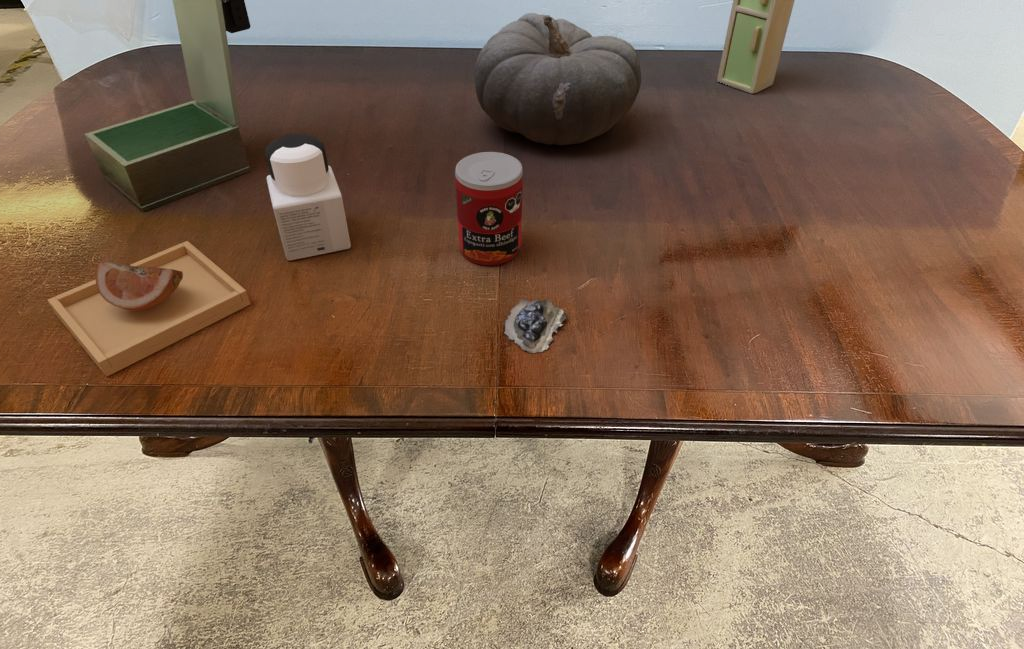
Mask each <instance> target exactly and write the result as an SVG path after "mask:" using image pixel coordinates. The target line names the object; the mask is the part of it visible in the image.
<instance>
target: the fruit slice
mask: <svg viewBox="0 0 1024 649" xmlns="http://www.w3.org/2000/svg"><path fill="white" fill-rule="evenodd" d="M130 265H131V263H127V264H124V263H121V262H119V263H117V262H116V263H115V262H110V261H98V263H97V265H96V272H95V279H96V285H97V289H98V291H99V293H100V295H101V296H102V297H103V298H104V299H105V300H106V301H107V302H108V303H110V304H112V305H114V306H116V307H119V308H122V309H126V310H144V309H148V308H152V307H154V306H156V305H158V304H160V303H162V302H163V301H165V300H166V299H167V298H168V297H169V296H170V295H171V294H172V293H173V292H174V291H175V290H176V289H177V288H178V286H179V283H180V282H181V280H182V278H183V272H182V271H177V270H174V269H166V268H155V267H146V268H145V267H137V266H130Z"/></svg>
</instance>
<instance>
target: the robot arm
mask: <svg viewBox="0 0 1024 649" xmlns="http://www.w3.org/2000/svg"><path fill="white" fill-rule="evenodd" d="M221 2H222V9H223V15H224V22H225V28H226V32H228V33H230V34H236V33H239V32H243V31H247V30H249V29H251V21H250V18H249V14H248V10H247V9H248V8H247V6H246V2H245V0H221Z"/></svg>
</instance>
